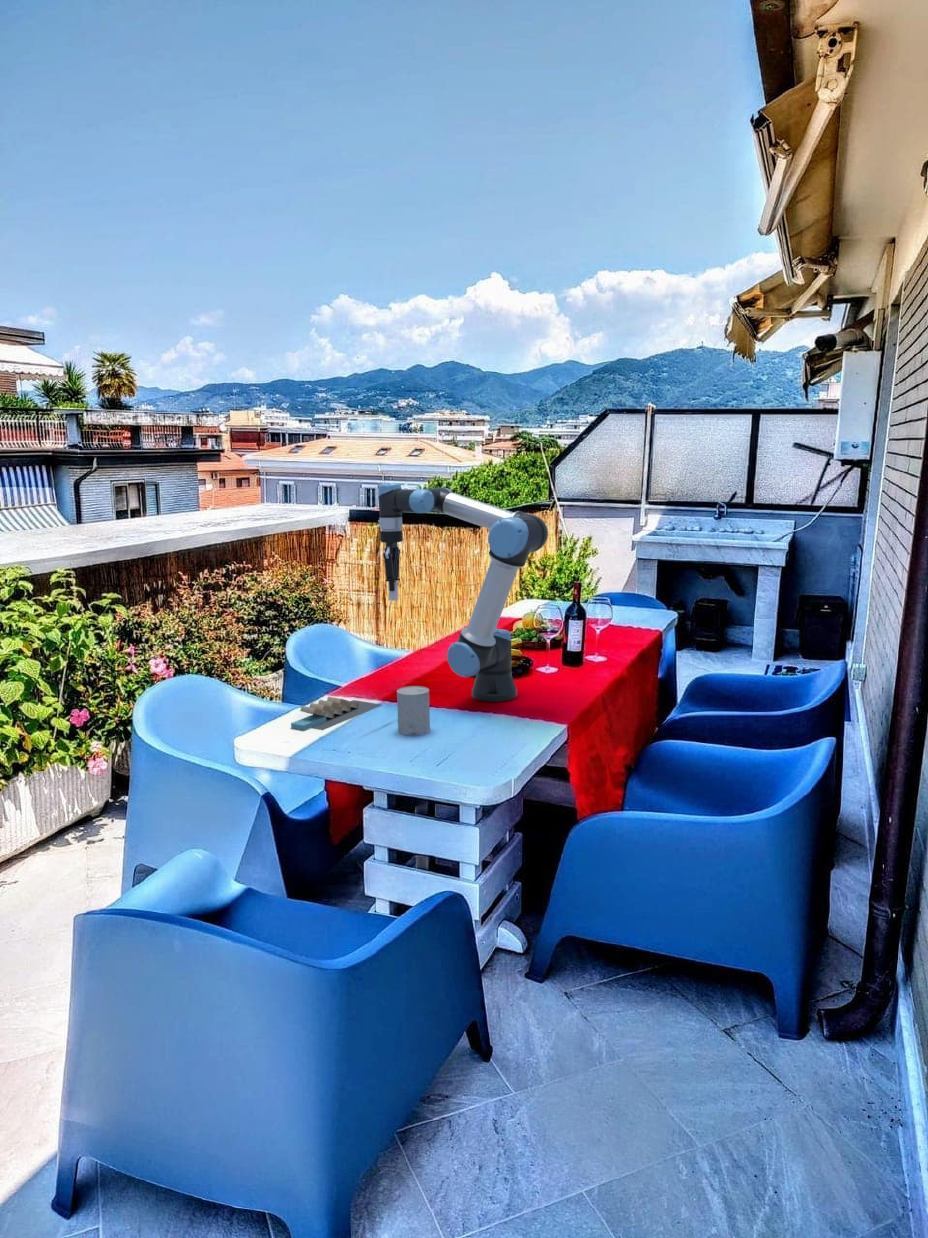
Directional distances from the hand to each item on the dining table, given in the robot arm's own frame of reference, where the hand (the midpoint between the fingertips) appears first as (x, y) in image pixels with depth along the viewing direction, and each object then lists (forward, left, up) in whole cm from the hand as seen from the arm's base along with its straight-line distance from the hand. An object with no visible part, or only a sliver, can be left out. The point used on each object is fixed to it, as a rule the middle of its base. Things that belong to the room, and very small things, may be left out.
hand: (393, 600), depth 287 cm
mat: (-11, +30, -32) cm, 45 cm away
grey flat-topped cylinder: (-38, +20, -33) cm, 54 cm away
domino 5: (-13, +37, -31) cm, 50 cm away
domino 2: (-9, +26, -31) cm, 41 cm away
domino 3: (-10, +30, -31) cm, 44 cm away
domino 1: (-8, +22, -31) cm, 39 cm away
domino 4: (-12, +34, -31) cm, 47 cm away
